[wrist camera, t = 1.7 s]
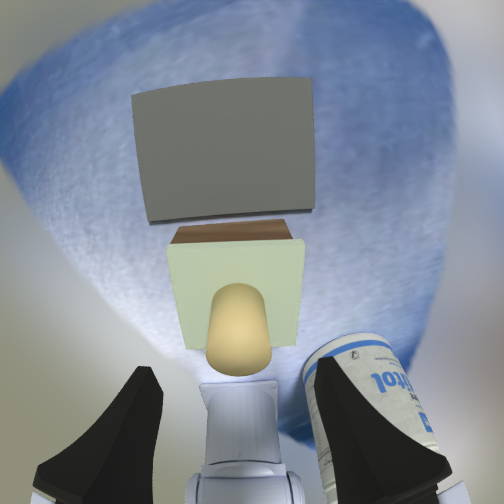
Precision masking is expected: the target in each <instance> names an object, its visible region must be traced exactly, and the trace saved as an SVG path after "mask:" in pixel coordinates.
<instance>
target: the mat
mask: <svg viewBox="0 0 504 504" xmlns="http://www.w3.org/2000/svg"><path fill="white" fill-rule="evenodd" d="M131 96H132V110H133V122H134V132H135V141H136V150H137V158H138V165H139V172H140V179H141V185H142V191H143V197H144V203H145V208H146V214H147V219H148V222H149V221H158V220H167V219H177V218H187V217H198V216H209V215H221V214H233V213H247V212H261V211H277V210H295V209H315V143H314V113H313V93H312V78H299V77H259V78H239V79H226V80H215V81H206V82H198V83H191V84H184V85H178V86H172V87H167V88H162V89H157V90H152V91H147V92H143V93H138V94H134V95H131Z"/></svg>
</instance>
